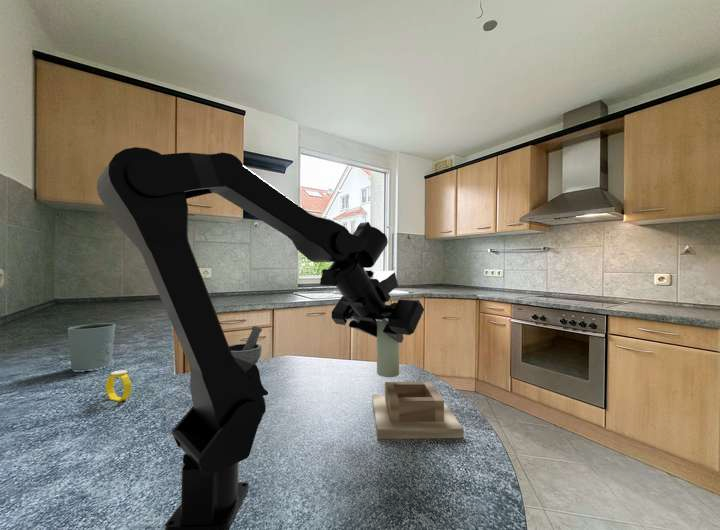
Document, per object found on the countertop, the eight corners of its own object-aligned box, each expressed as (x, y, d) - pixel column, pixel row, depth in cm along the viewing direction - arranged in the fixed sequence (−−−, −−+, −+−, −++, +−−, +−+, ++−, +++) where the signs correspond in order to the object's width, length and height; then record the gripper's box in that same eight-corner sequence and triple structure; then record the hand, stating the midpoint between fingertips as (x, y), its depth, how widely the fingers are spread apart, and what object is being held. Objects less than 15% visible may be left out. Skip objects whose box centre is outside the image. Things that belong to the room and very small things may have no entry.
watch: (134, 400, 63) (136, 372, 63) (119, 405, 61) (122, 376, 61) (115, 394, 65) (117, 367, 65) (100, 399, 63) (103, 371, 63)
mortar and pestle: (239, 381, 74) (240, 332, 74) (214, 375, 78) (215, 329, 79) (271, 368, 84) (272, 326, 84) (248, 364, 88) (249, 323, 89)
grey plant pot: (119, 366, 86) (121, 324, 86) (72, 376, 77) (74, 330, 78) (106, 361, 91) (107, 322, 92) (60, 369, 83) (62, 326, 83)
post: (394, 378, 56) (394, 309, 57) (373, 375, 58) (373, 308, 59) (402, 372, 60) (401, 307, 60) (382, 368, 62) (382, 306, 63)
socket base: (463, 438, 48) (463, 406, 48) (377, 438, 48) (377, 407, 48) (438, 401, 62) (438, 377, 62) (372, 402, 62) (372, 377, 62)
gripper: (418, 253, 51) (447, 312, 59) (341, 257, 63) (374, 306, 71) (391, 302, 45) (427, 361, 52) (312, 296, 57) (351, 344, 65)
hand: (391, 339), depth 60 cm, fingers closed on post, 4 cm apart
